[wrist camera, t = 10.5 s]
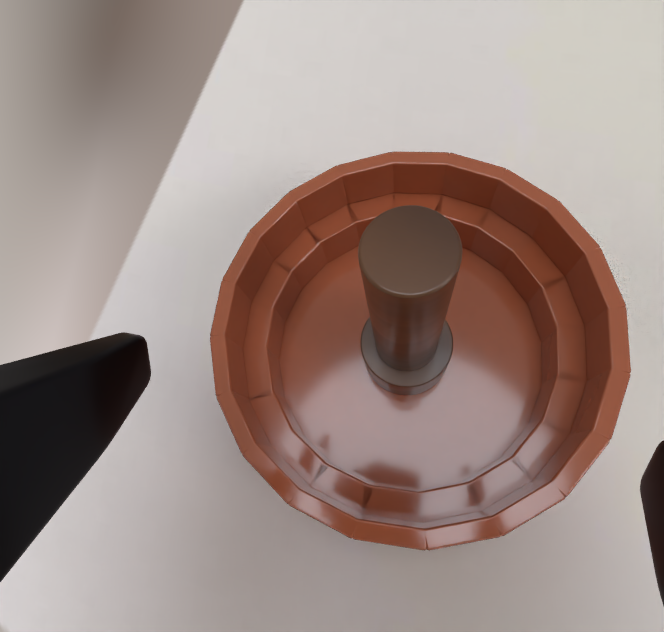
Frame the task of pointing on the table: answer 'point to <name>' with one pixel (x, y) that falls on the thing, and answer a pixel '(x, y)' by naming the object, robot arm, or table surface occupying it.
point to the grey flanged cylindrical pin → (408, 297)
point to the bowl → (460, 375)
